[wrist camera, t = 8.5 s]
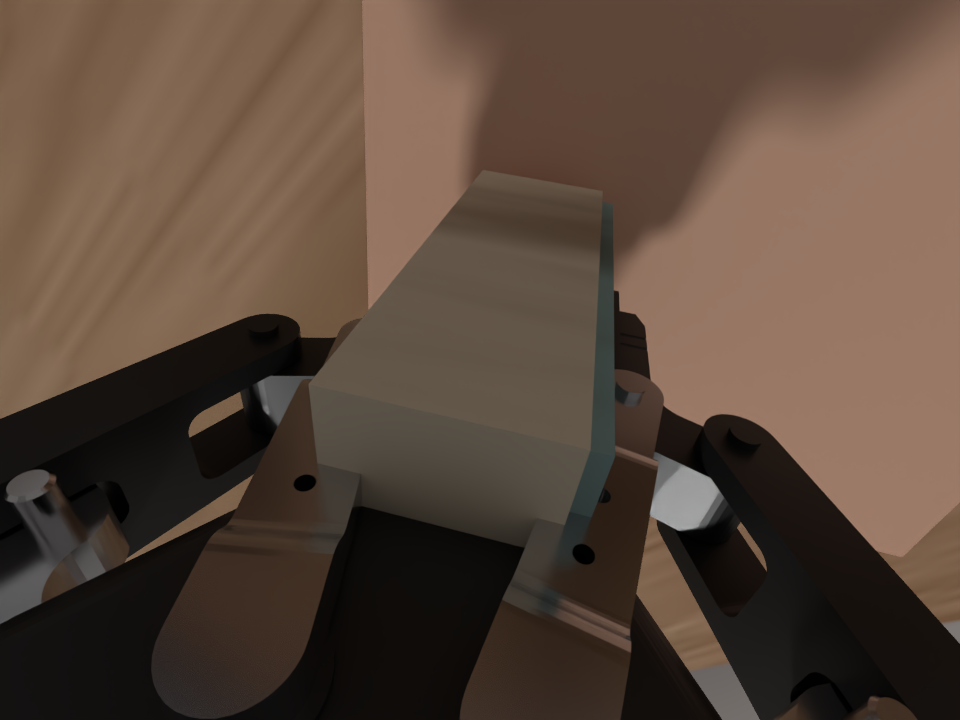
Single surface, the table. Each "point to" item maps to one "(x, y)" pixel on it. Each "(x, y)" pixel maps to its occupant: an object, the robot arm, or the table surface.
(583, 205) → the beige rectangular block
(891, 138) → the mat
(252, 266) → the table surface
